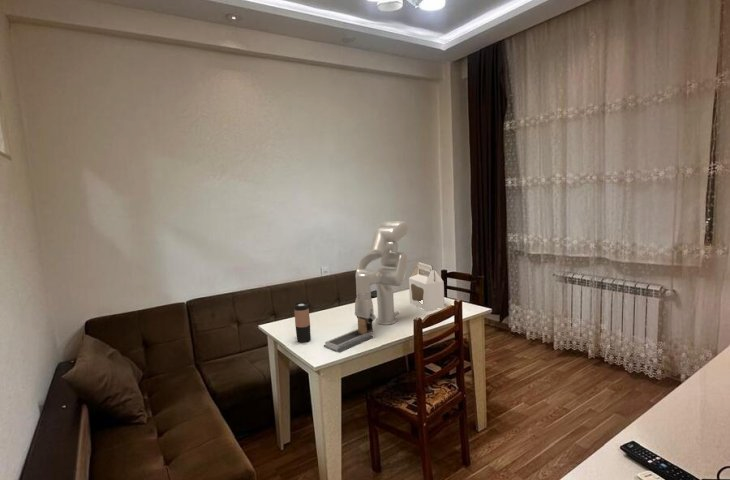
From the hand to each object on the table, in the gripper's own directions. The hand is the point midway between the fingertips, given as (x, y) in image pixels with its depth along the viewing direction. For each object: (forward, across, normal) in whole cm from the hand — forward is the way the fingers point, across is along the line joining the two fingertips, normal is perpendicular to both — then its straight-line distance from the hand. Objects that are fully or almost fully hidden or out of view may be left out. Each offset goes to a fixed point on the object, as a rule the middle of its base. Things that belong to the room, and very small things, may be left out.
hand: (365, 328), depth 208 cm
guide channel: (+4, 0, -12) cm, 13 cm away
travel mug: (+4, -21, -25) cm, 33 cm away
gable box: (+3, -4, +62) cm, 62 cm away
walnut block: (+2, 0, 0) cm, 2 cm away
